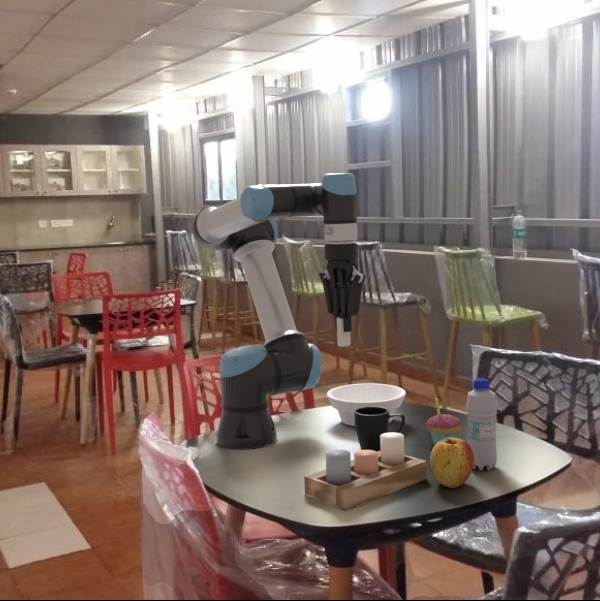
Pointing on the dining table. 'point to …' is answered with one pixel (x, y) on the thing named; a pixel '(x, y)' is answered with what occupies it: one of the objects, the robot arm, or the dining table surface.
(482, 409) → the bottle
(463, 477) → the apple
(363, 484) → the wooden peg tray
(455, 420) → the cupcake
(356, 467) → the peach cylinder
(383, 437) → the white cylinder
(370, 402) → the bowl
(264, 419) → the robot arm
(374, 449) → the mug
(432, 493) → the dining table surface
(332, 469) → the blue-grey cylinder
